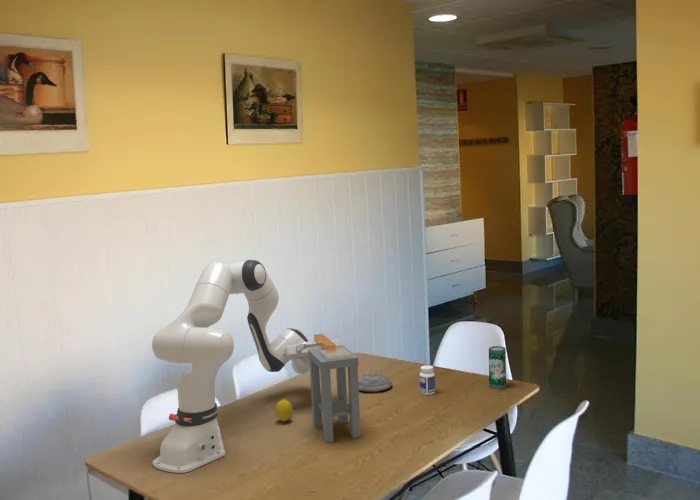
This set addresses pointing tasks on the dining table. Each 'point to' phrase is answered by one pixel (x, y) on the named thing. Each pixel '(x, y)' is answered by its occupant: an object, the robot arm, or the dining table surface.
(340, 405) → the stool
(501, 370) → the can
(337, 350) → the turner
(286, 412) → the lemon
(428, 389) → the pill bottle
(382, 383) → the flying saucer
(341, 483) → the dining table surface
